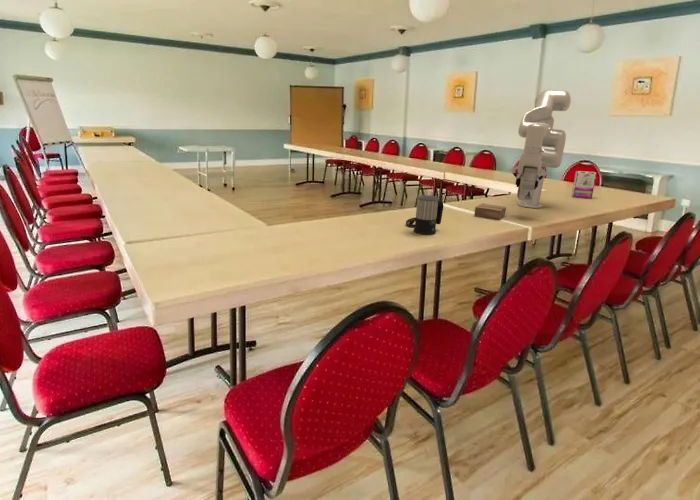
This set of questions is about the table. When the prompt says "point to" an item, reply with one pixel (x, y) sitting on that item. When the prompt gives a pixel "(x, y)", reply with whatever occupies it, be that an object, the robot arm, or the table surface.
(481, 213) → the walnut block
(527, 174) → the coffee box
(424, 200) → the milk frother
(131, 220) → the table surface
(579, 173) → the candy bar box
